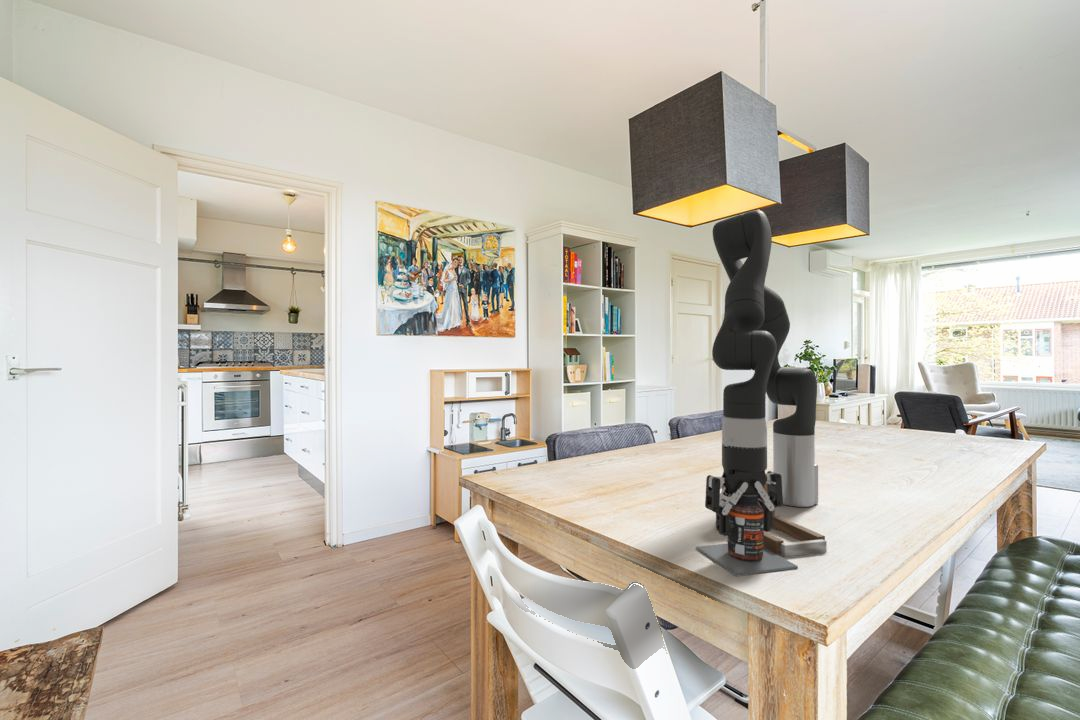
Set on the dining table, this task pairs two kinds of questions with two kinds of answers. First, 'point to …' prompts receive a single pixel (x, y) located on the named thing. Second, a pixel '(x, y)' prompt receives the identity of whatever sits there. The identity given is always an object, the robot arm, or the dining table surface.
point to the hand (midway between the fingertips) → (744, 532)
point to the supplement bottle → (746, 529)
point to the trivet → (744, 567)
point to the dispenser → (807, 537)
